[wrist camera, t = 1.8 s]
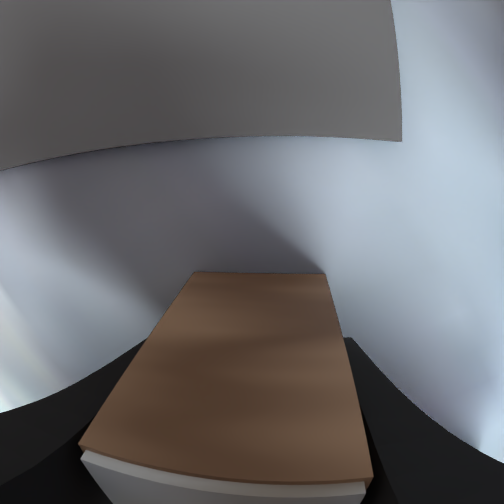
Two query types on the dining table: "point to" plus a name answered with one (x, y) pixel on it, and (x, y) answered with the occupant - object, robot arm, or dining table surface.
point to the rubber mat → (192, 72)
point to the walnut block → (236, 401)
